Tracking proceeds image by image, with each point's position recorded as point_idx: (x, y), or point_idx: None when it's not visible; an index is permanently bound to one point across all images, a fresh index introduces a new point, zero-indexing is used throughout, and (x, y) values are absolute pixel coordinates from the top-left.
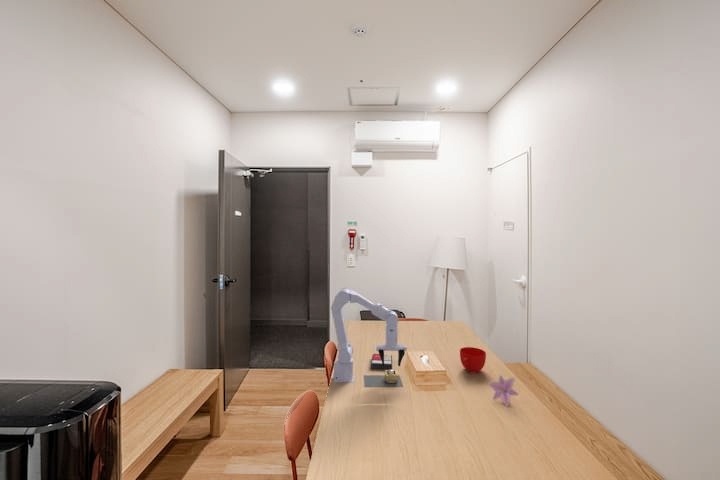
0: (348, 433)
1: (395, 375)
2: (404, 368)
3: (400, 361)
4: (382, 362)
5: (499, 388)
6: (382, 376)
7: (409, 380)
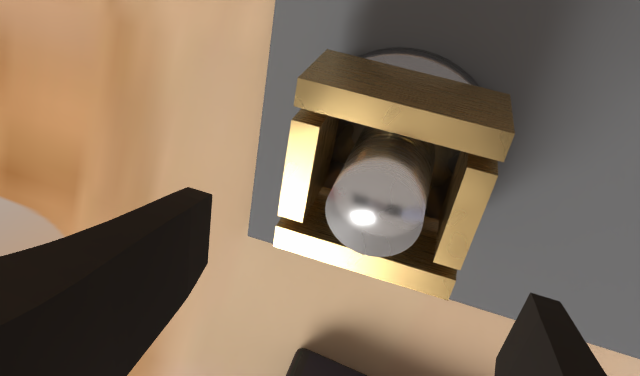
0: None
1: (341, 85)
2: (164, 343)
3: (113, 228)
4: (601, 367)
5: None
6: (463, 274)
7: (164, 105)
